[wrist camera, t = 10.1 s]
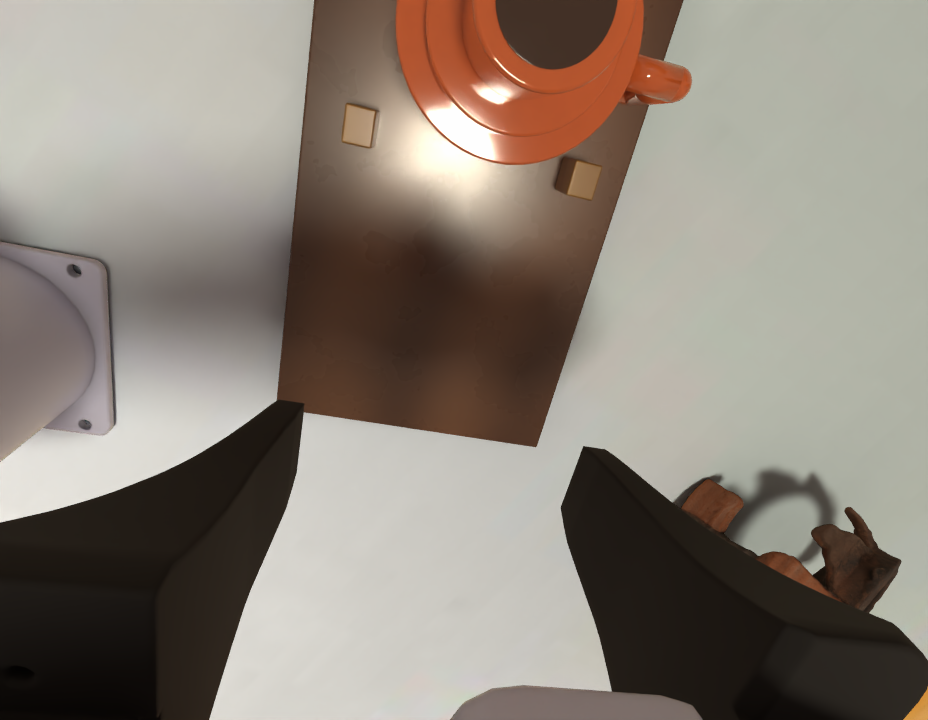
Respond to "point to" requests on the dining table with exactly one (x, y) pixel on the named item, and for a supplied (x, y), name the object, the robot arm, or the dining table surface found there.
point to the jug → (527, 71)
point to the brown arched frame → (845, 554)
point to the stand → (436, 247)
